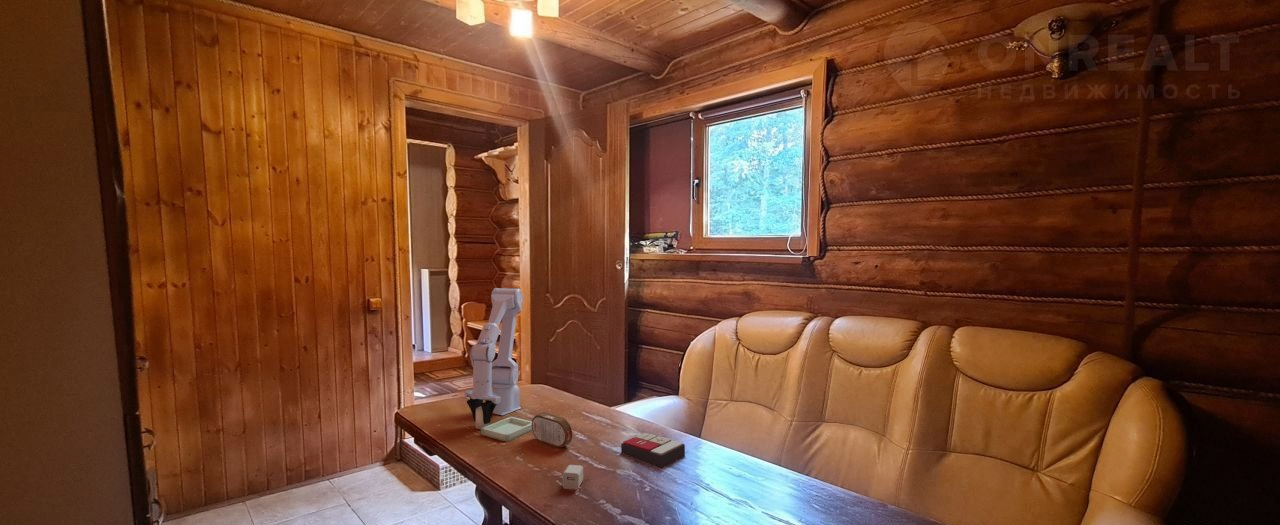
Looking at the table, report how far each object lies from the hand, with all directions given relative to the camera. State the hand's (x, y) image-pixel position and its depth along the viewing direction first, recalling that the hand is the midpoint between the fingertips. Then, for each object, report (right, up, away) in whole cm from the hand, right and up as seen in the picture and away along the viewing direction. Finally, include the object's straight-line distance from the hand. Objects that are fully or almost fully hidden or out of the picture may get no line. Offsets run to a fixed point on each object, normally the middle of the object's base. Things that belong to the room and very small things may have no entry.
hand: (482, 421), depth 158 cm
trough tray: (+10, -2, -4) cm, 11 cm away
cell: (0, -2, 0) cm, 2 cm away
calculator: (+55, -3, -20) cm, 59 cm away
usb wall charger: (+35, -3, -37) cm, 51 cm away
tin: (+25, -3, -13) cm, 28 cm away
